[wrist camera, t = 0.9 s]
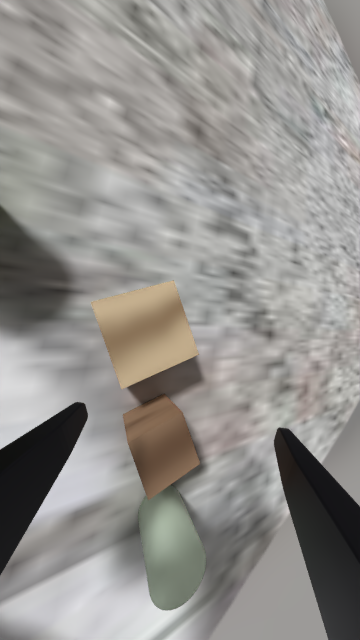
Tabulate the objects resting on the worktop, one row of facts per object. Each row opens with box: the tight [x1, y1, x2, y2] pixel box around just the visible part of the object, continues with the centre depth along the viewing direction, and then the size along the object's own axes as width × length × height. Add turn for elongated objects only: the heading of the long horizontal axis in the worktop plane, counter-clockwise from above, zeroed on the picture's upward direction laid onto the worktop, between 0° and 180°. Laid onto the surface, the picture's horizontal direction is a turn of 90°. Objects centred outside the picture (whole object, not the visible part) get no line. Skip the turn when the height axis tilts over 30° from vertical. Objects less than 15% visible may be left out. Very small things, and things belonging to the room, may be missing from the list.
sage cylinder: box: [138, 485, 206, 610], centre depth 18 cm, size 5×5×6 cm
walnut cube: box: [123, 394, 200, 500], centre depth 19 cm, size 5×5×6 cm
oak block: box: [91, 280, 199, 389], centre depth 20 cm, size 8×8×5 cm
